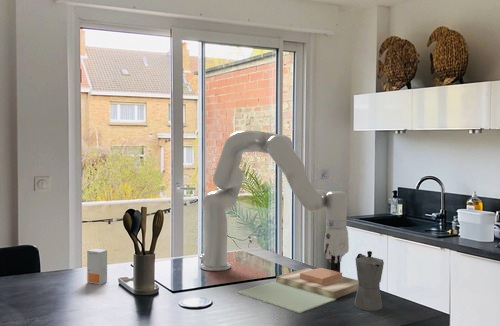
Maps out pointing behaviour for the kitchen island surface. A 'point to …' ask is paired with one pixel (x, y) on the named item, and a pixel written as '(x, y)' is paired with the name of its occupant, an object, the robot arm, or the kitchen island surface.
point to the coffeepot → (368, 282)
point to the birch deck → (327, 289)
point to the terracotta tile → (321, 275)
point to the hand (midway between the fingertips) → (335, 272)
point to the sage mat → (287, 296)
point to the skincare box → (97, 266)
